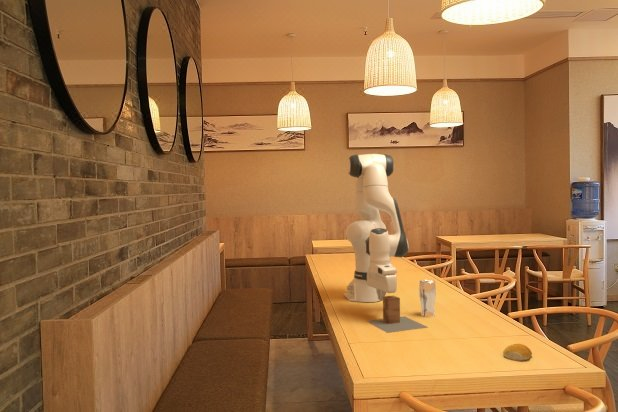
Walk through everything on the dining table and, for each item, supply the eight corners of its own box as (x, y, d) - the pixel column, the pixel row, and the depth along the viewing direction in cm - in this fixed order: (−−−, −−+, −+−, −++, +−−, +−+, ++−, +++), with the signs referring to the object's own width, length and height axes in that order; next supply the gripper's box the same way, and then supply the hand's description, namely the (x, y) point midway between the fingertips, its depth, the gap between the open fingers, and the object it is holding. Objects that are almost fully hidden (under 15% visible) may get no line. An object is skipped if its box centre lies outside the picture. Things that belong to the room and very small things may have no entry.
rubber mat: (366, 322, 210) (366, 321, 210) (404, 317, 216) (404, 316, 216) (387, 334, 193) (387, 332, 193) (428, 328, 199) (428, 327, 199)
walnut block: (383, 320, 210) (382, 296, 209) (393, 319, 211) (393, 295, 211) (389, 323, 205) (388, 299, 204) (400, 322, 207) (399, 297, 206)
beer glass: (424, 319, 213) (423, 283, 212) (416, 315, 220) (416, 280, 219) (439, 317, 215) (438, 282, 214) (431, 313, 222) (430, 279, 221)
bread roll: (533, 355, 168) (533, 343, 168) (527, 363, 160) (527, 350, 160) (507, 350, 173) (507, 339, 172) (500, 358, 165) (500, 346, 165)
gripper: (362, 264, 224) (363, 296, 224) (385, 271, 205) (386, 305, 205) (375, 263, 226) (376, 294, 227) (399, 269, 207) (400, 303, 207)
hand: (381, 300), depth 216 cm, fingers closed
